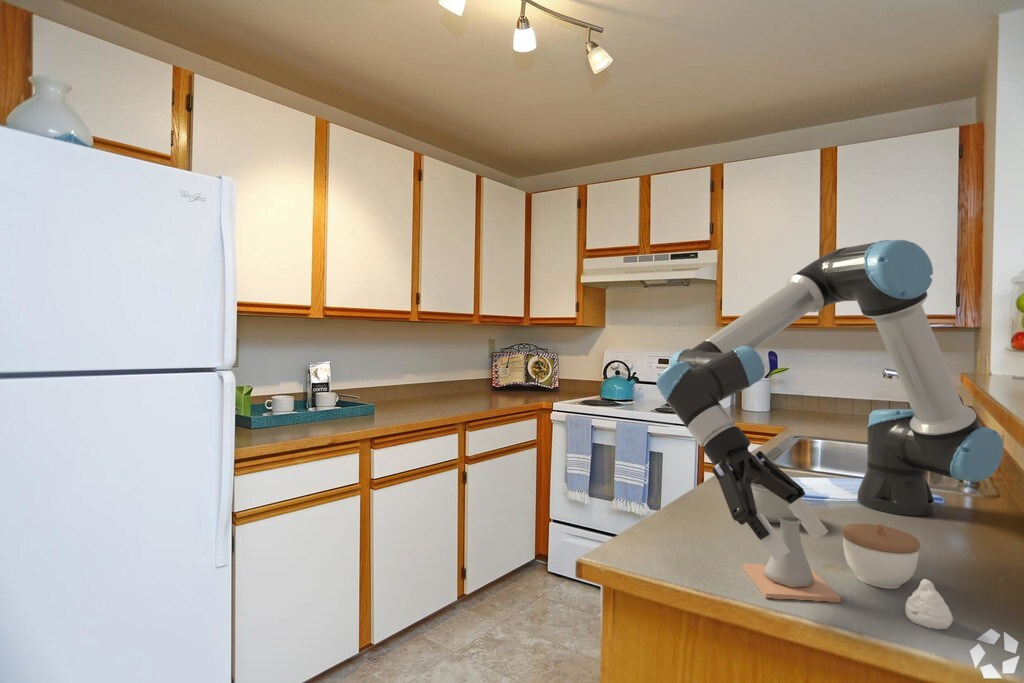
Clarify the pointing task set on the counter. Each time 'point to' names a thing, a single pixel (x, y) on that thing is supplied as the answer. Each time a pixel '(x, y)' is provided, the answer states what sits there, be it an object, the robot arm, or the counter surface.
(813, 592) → the coaster
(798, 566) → the flask
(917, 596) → the garlic bulb
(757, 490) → the teacup
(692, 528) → the counter surface
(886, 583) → the lidded jar
